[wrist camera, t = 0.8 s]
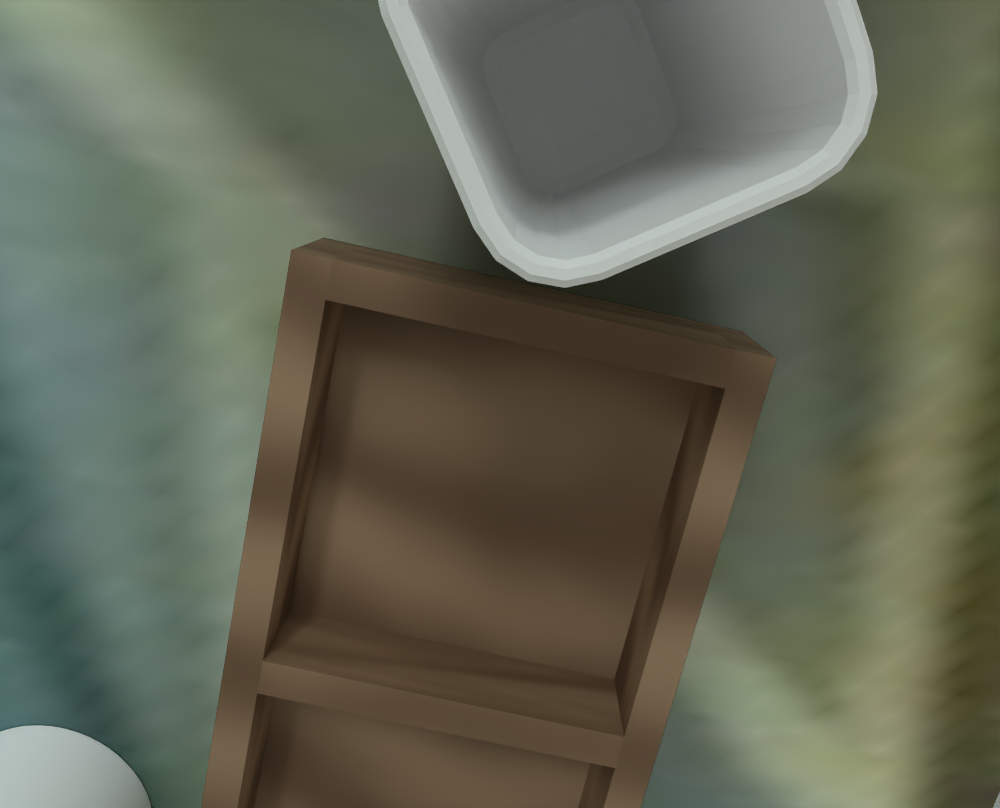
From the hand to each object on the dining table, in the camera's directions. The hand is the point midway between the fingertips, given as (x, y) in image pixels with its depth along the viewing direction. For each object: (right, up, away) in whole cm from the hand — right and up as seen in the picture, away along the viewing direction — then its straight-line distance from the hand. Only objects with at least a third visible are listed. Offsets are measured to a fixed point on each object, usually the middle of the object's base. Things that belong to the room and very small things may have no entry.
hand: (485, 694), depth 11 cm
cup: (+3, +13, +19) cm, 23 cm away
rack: (-2, -6, +23) cm, 24 cm away
